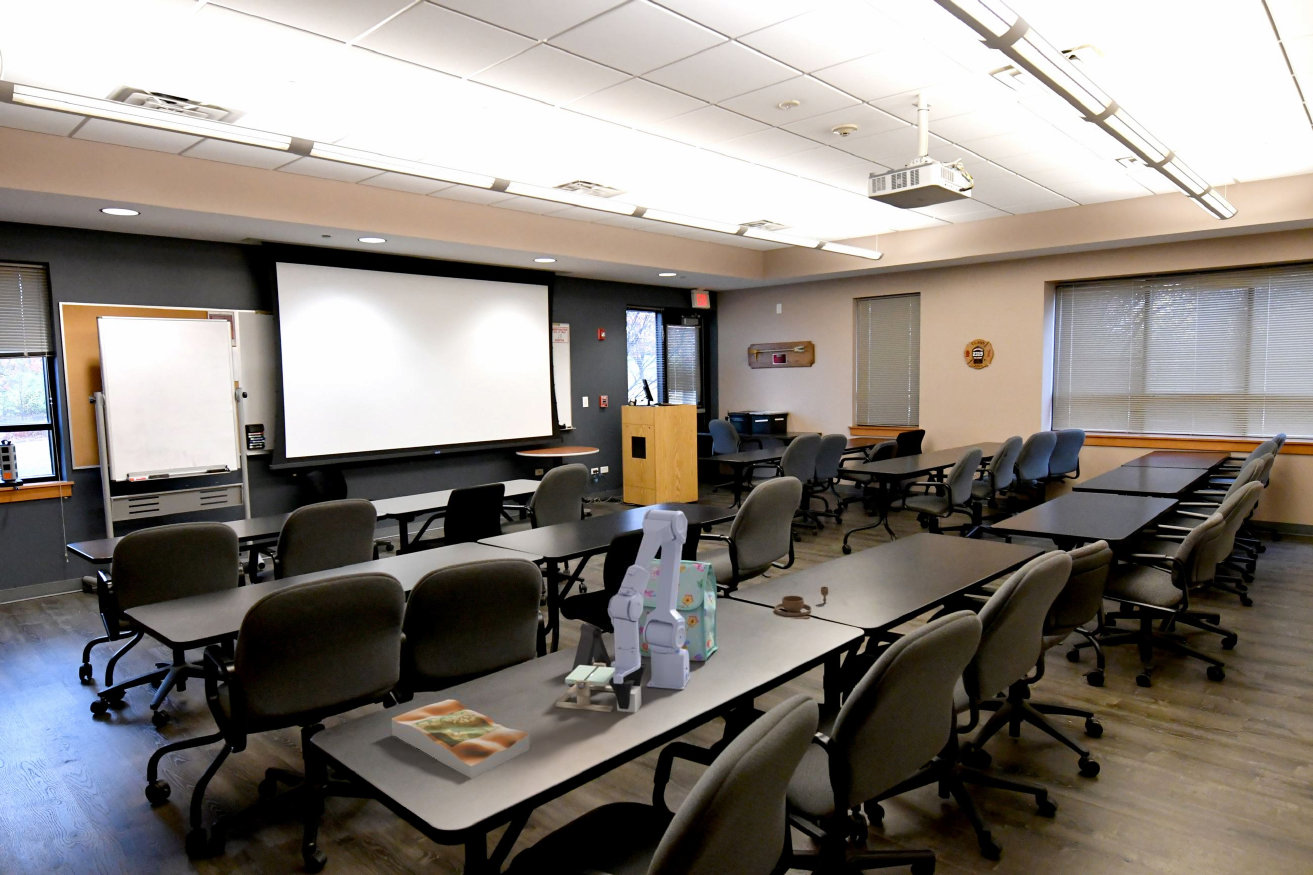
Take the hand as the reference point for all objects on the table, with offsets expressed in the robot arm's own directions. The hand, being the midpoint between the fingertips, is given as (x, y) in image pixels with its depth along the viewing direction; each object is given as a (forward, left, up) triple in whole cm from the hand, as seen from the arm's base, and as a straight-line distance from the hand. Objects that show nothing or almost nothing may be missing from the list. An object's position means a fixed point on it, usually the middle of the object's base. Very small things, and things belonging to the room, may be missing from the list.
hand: (629, 701), depth 176 cm
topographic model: (+31, +24, -2) cm, 39 cm away
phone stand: (+17, -21, -2) cm, 27 cm away
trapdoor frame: (+10, -3, -1) cm, 11 cm away
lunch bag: (-2, -37, -2) cm, 37 cm away
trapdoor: (+11, -3, +2) cm, 11 cm away
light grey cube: (0, 0, -2) cm, 2 cm away
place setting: (-33, -82, -2) cm, 89 cm away
